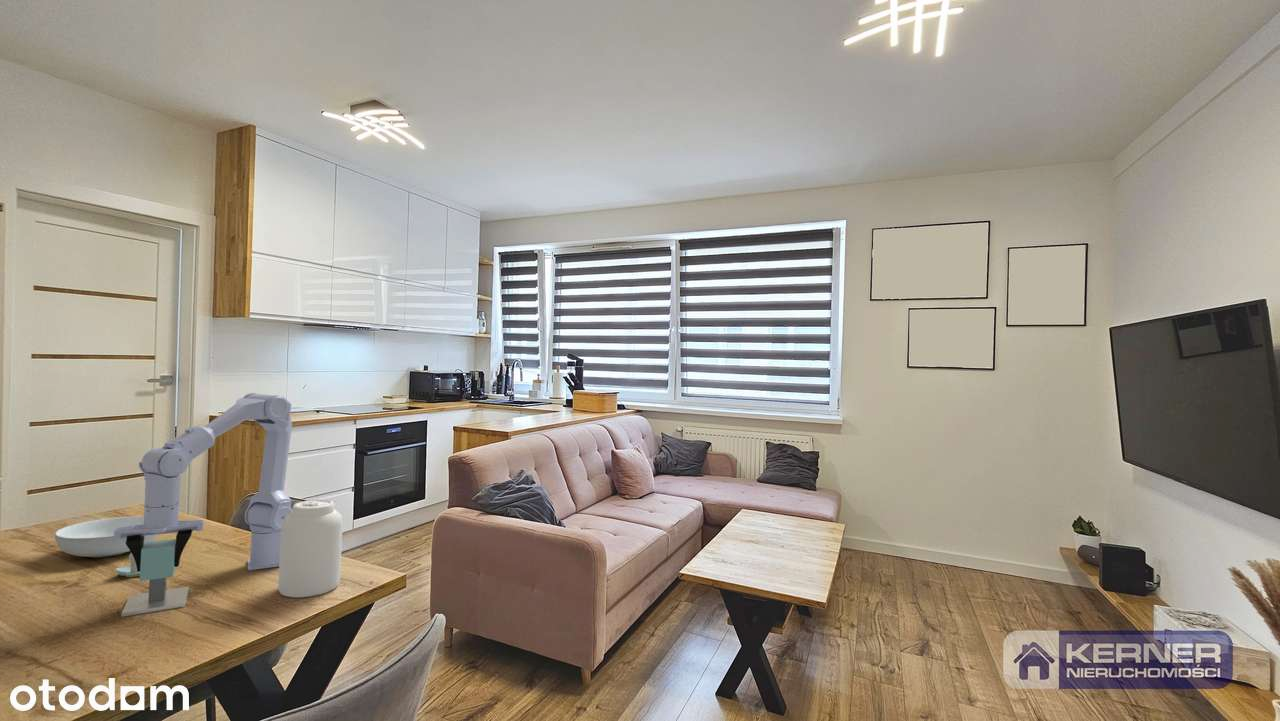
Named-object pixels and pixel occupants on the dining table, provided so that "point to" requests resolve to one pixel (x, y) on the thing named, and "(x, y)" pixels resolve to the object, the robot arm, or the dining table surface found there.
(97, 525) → the serving bowl
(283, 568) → the white jar
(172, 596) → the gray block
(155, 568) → the teal block
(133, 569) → the pacifier
